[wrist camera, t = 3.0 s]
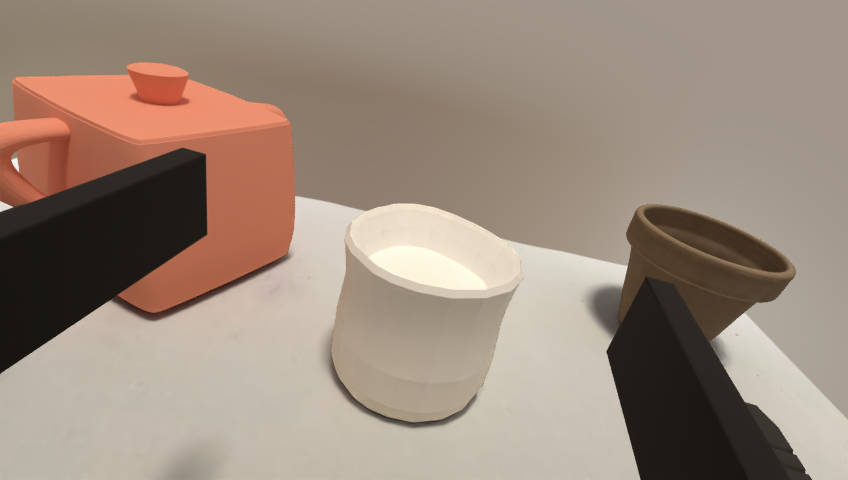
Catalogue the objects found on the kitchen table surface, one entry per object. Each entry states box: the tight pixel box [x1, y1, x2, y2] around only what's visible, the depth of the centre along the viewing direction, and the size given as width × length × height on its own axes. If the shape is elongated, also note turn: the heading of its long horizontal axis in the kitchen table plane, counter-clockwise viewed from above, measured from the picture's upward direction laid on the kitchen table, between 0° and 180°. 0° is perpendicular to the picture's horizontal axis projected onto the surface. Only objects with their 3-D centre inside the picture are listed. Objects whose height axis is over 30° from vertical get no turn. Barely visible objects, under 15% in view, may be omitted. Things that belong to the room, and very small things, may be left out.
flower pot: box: [618, 204, 796, 342], centre depth 37 cm, size 12×11×10 cm
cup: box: [331, 204, 523, 423], centre depth 27 cm, size 10×10×10 cm
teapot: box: [0, 62, 295, 313], centre depth 33 cm, size 20×22×14 cm
